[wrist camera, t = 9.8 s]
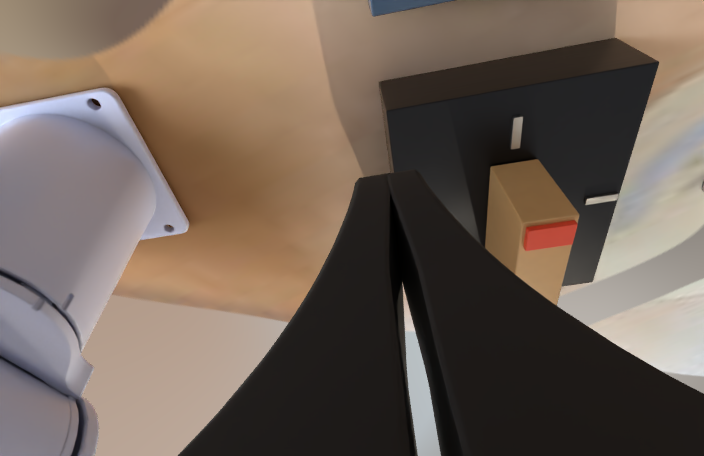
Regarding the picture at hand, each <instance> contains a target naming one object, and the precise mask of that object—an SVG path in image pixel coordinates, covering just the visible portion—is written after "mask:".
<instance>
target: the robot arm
mask: <svg viewBox="0 0 704 456" xmlns="http://www.w3.org/2000/svg"><path fill="white" fill-rule="evenodd" d="M91 98H93V99H96V100H98V101H99V103H100V105H101V106H97V105H95V104H94V103H93V102H92V99H91ZM167 225H171V226H173V227H169V226H167ZM188 227H189V221H188V219H187V218H186V216H185V214H184V212H183V210H182V208H181V207H180V205H179V203H178V201H177V199H176V198H175V196H174V194H173V192H172V190H171V189H170V187H169V185H168V183H167V181H166V180H165V178H164V176H163V174H162V172H161V171H160V169H159V167H158V165H157V163H156V162H155V160H154V158H153V156H152V154H151V153H150V151H149V149H148V147H147V145H146V143H145V142H144V140H143V138H142V136H141V134H140V133H139V131H138V129H137V127H136V125H135V124H134V122H133V120H132V118H131V116H130V115H129V113H128V111H127V109H126V107H125V106H124V104H123V102H122V100H121V98H120V97H119V95H118V94H117V93H116V92H115V91H113V90H112V89H109V88H97V89H92V90H87V91H82V92H77V93H72V94H67V95H61V96H56V97H51V98H46V99H41V100H36V101H31V102H25V103H20V104H15V105H10V106H5V107H0V456H95V452H96V447H97V442H98V433H99V431H98V430H99V423H98V418H97V417H98V416H97V413H96V411H95V409H94V407H93V405H92V404H91V403H90V402H89V401H88V400H87V399H85V398H83V397H81V396H82V394H83V391H84V389H85V387H86V385H87V383H88V381H89V379H90V377H91V375H92V372H93V370H94V367H93V366H92V365H91V364H90V363H88V362H87V361H86V360H85V359H84V358H83V357H82V355H81V352H82V350H83V348H84V346H85V345H86V343H87V341H88V339H89V337H90V335H91V333H92V331H93V329H94V327H95V325H96V323H97V321H98V319H99V318H100V316H101V314H102V312H103V310H104V308H105V306H106V304H107V302H108V300H109V298H110V296H111V294H112V293H113V291H114V289H115V287H116V285H117V283H118V281H119V279H120V277H121V275H122V273H123V271H124V269H125V267H126V266H127V264H128V262H129V260H130V258H131V256H132V254H133V252H134V250H135V248H136V246H137V244H138V242H139V240H145V239H151V238H157V237H163V236H169V235H175V234H181V233H185V232H186V231H187V230H188ZM402 282H403V286H404V289H405V293H406V297H407V301H408V305H409V308H410V312H411V316H412V320H413V324H414V327H415V331H416V335H417V339H418V343H419V346H420V350H421V354H422V358H423V361H424V365H425V369H426V374H427V378H428V382H429V387H430V393H431V399H432V405H433V411H434V417H435V422H436V429H437V434H438V440H439V446H440V452H441V456H704V394H703V393H701V392H699V391H697V390H695V389H693V388H691V387H689V386H687V385H685V384H684V383H682V382H680V381H678V380H676V379H674V378H672V377H670V376H669V375H667V374H665V373H663V372H662V371H660V370H658V369H656V368H655V367H653V366H651V365H649V364H648V363H646V362H644V361H643V360H641V359H639V358H637V357H636V356H634V355H632V354H631V353H629V352H627V351H625V350H624V349H622V348H620V347H619V346H617V345H616V344H614V343H612V342H611V341H609V340H608V339H606V338H605V337H603V336H602V335H600V334H599V333H597V332H596V331H594V330H593V329H591V328H589V327H588V326H586V325H585V324H583V323H582V322H580V321H579V320H577V319H576V318H574V317H573V316H571V315H570V314H568V313H566V312H565V311H563V310H562V309H560V308H559V307H557V306H556V305H555V304H554V303H552V302H551V301H549V300H548V299H547V298H545V297H544V296H543V295H541V294H540V293H539V292H537V291H536V290H535V289H533V288H532V287H531V286H529V285H528V284H527V283H526V282H524V281H523V280H522V279H521V278H519V277H518V276H517V275H515V274H514V273H513V272H512V271H511V270H509V269H508V268H507V267H506V266H505V265H503V264H502V263H501V262H500V261H499V260H498V259H497V258H495V257H494V256H493V255H492V254H491V253H490V252H489V251H488V250H487V249H486V248H485V247H484V246H482V245H481V244H480V243H479V242H478V241H477V240H476V239H475V238H474V237H473V236H472V235H471V234H470V233H469V232H468V231H467V230H466V229H465V228H464V227H463V226H462V225H461V223H460V222H459V221H458V220H457V219H456V218H455V217H454V216H453V215H452V214H451V213H450V212H449V210H448V209H447V208H446V207H445V206H444V205H443V203H442V202H441V201H440V200H439V199H438V197H437V196H436V195H435V194H434V192H433V191H432V190H431V188H430V187H429V186H428V184H427V183H426V181H425V180H424V178H423V177H422V175H421V174H420V173H419V172H418V171H417V170H415V169H414V170H407V171H401V172H395V173H388V174H382V175H376V176H369V177H363V178H359V179H358V180H357V182H356V183H355V187H354V191H353V195H352V199H351V202H350V205H349V208H348V211H347V213H346V216H345V219H344V221H343V224H342V226H341V228H340V231H339V233H338V236H337V238H336V240H335V243H334V245H333V247H332V249H331V251H330V253H329V255H328V257H327V259H326V261H325V263H324V265H323V267H322V269H321V271H320V273H319V275H318V277H317V278H316V280H315V282H314V284H313V285H312V287H311V289H310V291H309V292H308V294H307V296H306V297H305V299H304V301H303V302H302V304H301V305H300V307H299V308H298V310H297V312H296V313H295V315H294V316H293V318H292V319H291V321H290V322H289V323H288V325H287V326H286V328H285V329H284V331H283V332H282V333H281V335H280V337H279V338H278V339H277V341H276V342H275V343H274V345H273V346H272V347H271V349H270V350H269V352H268V353H267V354H266V356H265V357H264V358H263V360H262V361H261V362H260V363H259V365H258V366H257V367H256V368H255V369H254V371H253V372H252V373H251V374H250V376H249V377H248V378H247V379H246V380H245V381H244V383H243V384H242V385H241V386H240V387H239V389H238V390H237V391H236V392H235V393H234V395H233V396H232V397H231V398H230V399H229V401H228V402H227V403H226V404H225V405H224V406H223V408H222V409H221V410H220V411H219V412H218V413H217V414H216V416H215V417H214V418H213V419H212V420H211V421H210V422H209V423H208V424H207V426H206V427H205V428H204V429H203V430H202V431H201V432H200V433H199V434H198V435H197V436H196V437H195V438H194V439H193V440H192V441H191V442H190V443H189V444H188V445H187V446H186V448H185V449H184V450H183V451H182V452H181V453H180V454H179V455H178V456H418V455H417V447H416V440H415V433H414V427H413V419H412V412H411V405H410V397H409V390H408V379H407V367H406V347H405V326H404V306H403V286H402Z"/></svg>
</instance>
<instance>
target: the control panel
mask: <svg viewBox="0 0 704 456" xmlns="http://www.w3.org/2000/svg"><path fill="white" fill-rule="evenodd" d="M658 65H659V62H658V61H657V60H655V59H653V58H651V57H649V56H648V55H646V54H644V53H642V52H640V51H639V50H637V49H635V48H633V47H631V46H630V45H628V44H626V43H624V42H622V41H621V40H619V39H617V38H613V39H607V40H602V41H596V42H591V43H586V44H580V45H575V46H570V47H564V48H559V49H553V50H548V51H543V52H537V53H532V54H526V55H521V56H516V57H510V58H505V59H500V60H494V61H489V62H483V63H478V64H473V65H467V66H462V67H457V68H451V69H446V70H440V71H435V72H430V73H424V74H419V75H413V76H408V77H403V78H397V79H392V80H387V81H381V82H379V87H380V95H381V103H382V110H383V118H384V126H385V133H386V141H387V149H388V156H389V164H390V172H391V173H395V172H401V171H407V170H414V169H415V170H417V171H418V172H419V173H420V174H421V175H422V177H423V178H424V180H425V181H426V183H427V184H428V186H429V187H430V188H431V190H432V191H433V192H434V194H435V195H436V196H437V197H438V199H439V200H440V201H441V202H442V203H443V205H444V206H445V207H446V208H447V209H448V210H449V212H450V213H451V214H452V215H453V216H454V217H455V218H456V219H457V220H458V221H459V222H460V223H461V225H462V226H463V227H464V228H465V229H466V230H467V231H468V232H469V233H470V234H471V235H472V236H473V237H474V238H475V239H476V240H477V241H478V242H479V243H480V244H481V245H482V246H484V247H485V241H486V226H487V211H488V196H489V181H490V168H491V166H497V165H503V164H510V163H516V162H522V161H529V160H535V159H538V160H539V161H540V162H541V164H542V165H543V166H544V168H545V169H546V171H547V172H548V173H549V175H550V176H551V177H552V179H553V180H554V181H555V183H556V184H557V185H558V187H559V188H560V189H561V191H562V192H563V193H564V195H565V196H566V197H567V199H568V200H569V201H570V203H571V204H572V205H573V207H574V208H575V209H576V211H577V212H578V213H579V219H578V223H577V224H578V225H577V229H576V233H575V237H574V241H573V244H572V247H571V251H570V255H569V259H568V263H567V267H566V271H565V275H564V279H563V283H562V286H568V285H575V284H582V283H589V282H593V279H594V275H595V272H596V269H597V265H598V262H599V259H600V256H601V252H602V249H603V246H604V242H605V239H606V236H607V233H608V229H609V226H610V223H611V219H612V216H613V213H614V210H615V206H616V203H617V200H618V196H619V193H620V190H621V186H622V183H623V180H624V177H625V173H626V170H627V167H628V163H629V160H630V157H631V154H632V150H633V147H634V144H635V140H636V137H637V134H638V131H639V127H640V124H641V121H642V117H643V114H644V111H645V108H646V104H647V101H648V98H649V94H650V91H651V88H652V85H653V81H654V78H655V75H656V71H657V68H658Z"/></svg>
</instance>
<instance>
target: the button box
mask: <svg viewBox="0 0 704 456" xmlns="http://www.w3.org/2000/svg"><path fill="white" fill-rule="evenodd" d="M450 1H455V0H368V3H369V7H370V10H371V13H372V16H379V15H384V14H389V13H394V12H399V11H404V10H410V9H415V8H420V7H425V6H430V5H435V4H440V3H445V2H450Z"/></svg>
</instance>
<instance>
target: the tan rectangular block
mask: <svg viewBox="0 0 704 456" xmlns="http://www.w3.org/2000/svg"><path fill="white" fill-rule="evenodd" d="M578 219H579V213H578V212H577V211H576V209H575V208H574V207H573V205H572V204H571V203H570V201H569V200H568V199H567V197H566V196H565V195H564V193H563V192H562V191H561V189H560V188H559V187H558V185H557V184H556V183H555V181H554V180H553V179H552V177H551V176H550V175H549V173H548V172H547V171H546V169H545V168H544V166H543V165H542V164H541V162H540V161H539V160H538V159H535V160H529V161H522V162H516V163H510V164H503V165H497V166H491V168H490V181H489V196H488V211H487V226H486V241H485V248H486V249H487V250H488V251H489V252H490V253H491V254H492V255H493V256H494V257H495V258H497V259H498V260H499V261H500V262H501V263H502V264H503V265H505V266H506V267H507V268H508V269H509V270H511V271H512V272H513V273H514V274H515V275H517V276H518V277H519V278H521V279H522V280H523V281H524V282H526V283H527V284H528V285H529V286H531V287H532V288H533V289H535V290H536V291H537V292H539V293H540V294H541V295H543V296H544V297H545V298H547V299H548V300H549V301H551V302H552V303H554V304H555V305H556V306H557V302H558V298H559V294H560V290H561V286H562V283H563V279H564V275H565V271H566V267H567V263H568V259H569V255H570V251H571V247H572V244H573V241H574V237H575V233H576V229H577V225H578V224H577V223H578Z"/></svg>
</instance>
